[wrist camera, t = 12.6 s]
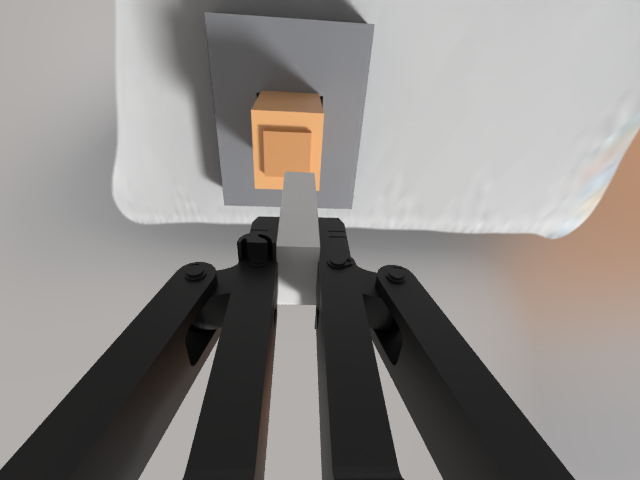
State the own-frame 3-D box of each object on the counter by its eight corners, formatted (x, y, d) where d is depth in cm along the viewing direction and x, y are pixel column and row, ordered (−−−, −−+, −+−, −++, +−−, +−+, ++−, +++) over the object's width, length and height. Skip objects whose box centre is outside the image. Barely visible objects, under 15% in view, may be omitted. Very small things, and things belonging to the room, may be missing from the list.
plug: (263, 86, 37) (250, 111, 27) (317, 89, 38) (324, 115, 28) (265, 149, 41) (254, 191, 31) (314, 151, 42) (319, 193, 31)
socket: (213, 12, 35) (204, 11, 31) (367, 23, 36) (374, 24, 32) (230, 191, 45) (224, 205, 42) (347, 195, 47) (351, 209, 43)
